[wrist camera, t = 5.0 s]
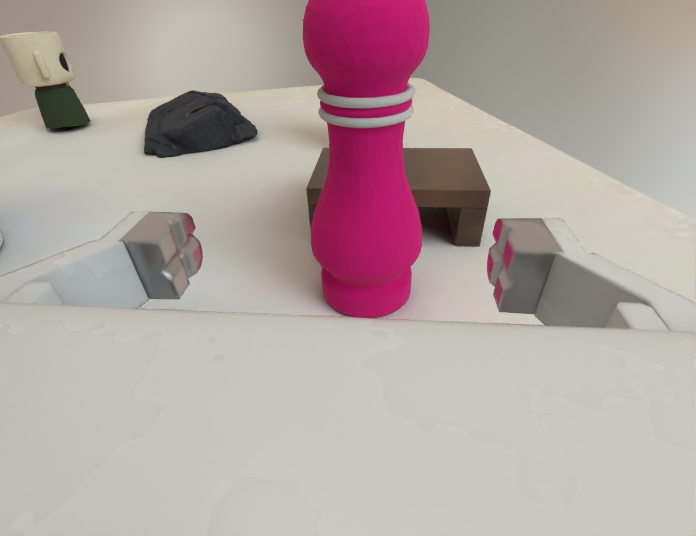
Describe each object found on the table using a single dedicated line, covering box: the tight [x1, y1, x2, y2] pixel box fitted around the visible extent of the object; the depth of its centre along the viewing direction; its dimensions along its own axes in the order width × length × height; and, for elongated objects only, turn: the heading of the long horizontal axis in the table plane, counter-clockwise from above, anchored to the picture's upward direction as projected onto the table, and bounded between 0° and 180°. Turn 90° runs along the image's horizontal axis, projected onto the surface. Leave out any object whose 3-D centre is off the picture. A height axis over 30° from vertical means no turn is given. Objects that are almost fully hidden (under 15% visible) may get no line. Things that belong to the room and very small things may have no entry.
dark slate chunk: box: [144, 91, 258, 157], centre depth 59 cm, size 15×22×5 cm
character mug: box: [0, 31, 90, 129], centre depth 59 cm, size 11×7×13 cm, turn 35°
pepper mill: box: [303, 0, 430, 318], centre depth 22 cm, size 7×7×20 cm
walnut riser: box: [307, 148, 491, 246], centre depth 35 cm, size 14×9×5 cm, turn 85°
